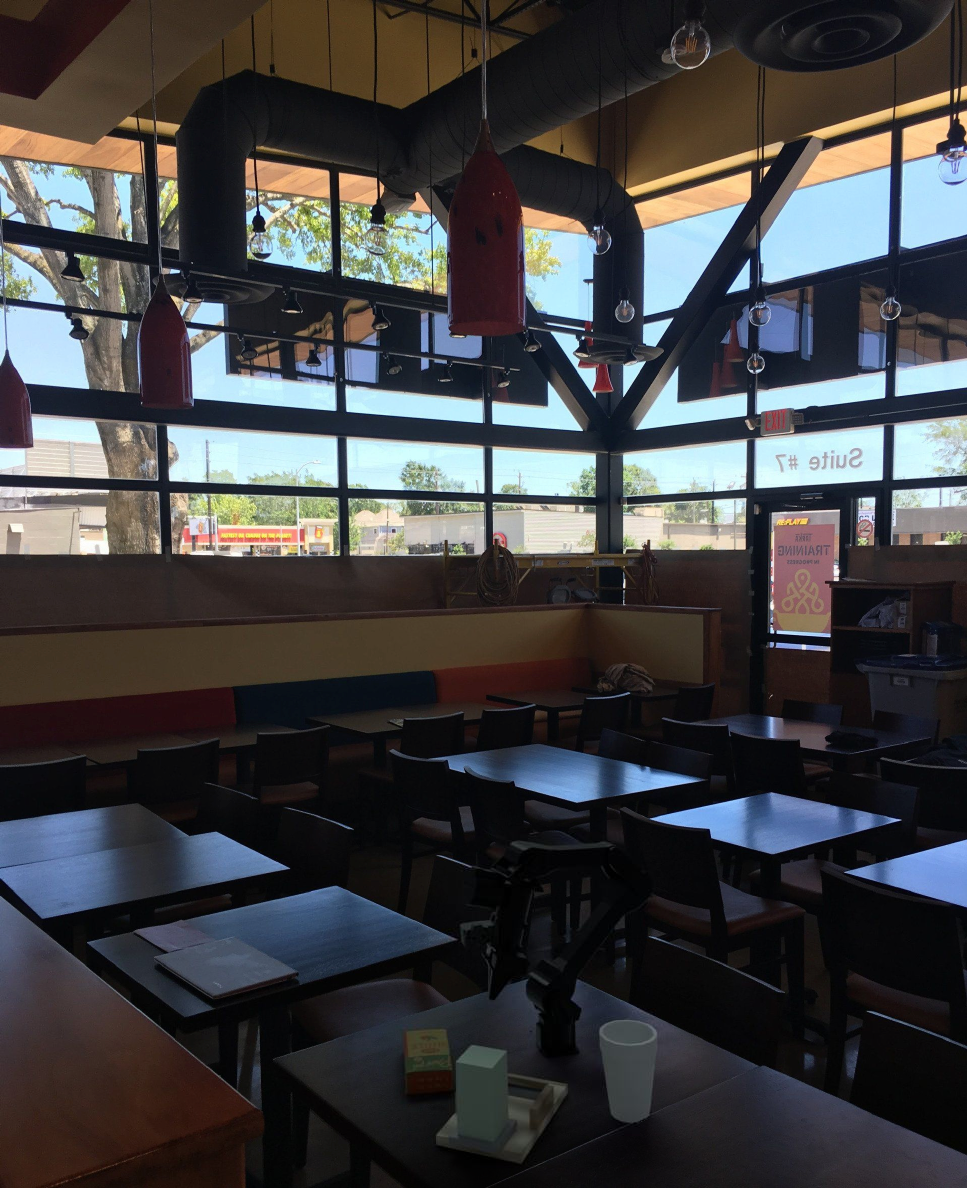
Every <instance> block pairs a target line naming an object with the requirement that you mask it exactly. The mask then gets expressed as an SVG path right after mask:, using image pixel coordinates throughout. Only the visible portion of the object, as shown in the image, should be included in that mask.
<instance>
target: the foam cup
mask: <svg viewBox="0 0 967 1188" xmlns="http://www.w3.org/2000/svg"><path fill="white" fill-rule="evenodd" d="M598 1031H599V1049H600V1051H601V1057H602V1058H601V1059H602V1065H603V1070H604V1071H603V1072H604V1076H605V1077H604V1078H605V1083H606V1084H605V1086H606V1090H607V1098H608V1103H609V1104H608V1105H609V1110H610V1115H611V1116H612V1117H613V1118H614V1120H615V1119H616V1121H617V1120H618V1121H619V1122H621V1123H622V1122H623V1123H629V1124H633V1123H634V1122H636V1123H638V1122H637V1121H640V1120H642V1119H644V1118H647V1117H648V1116H650V1112H651V1107H652V1106H651V1103H652V1097H653V1095H652V1094H653V1088H654V1087H653V1086H654V1076H655V1066H656V1057H657V1052H658V1048H659V1047H658V1033H657V1029H656V1028H654V1027H653V1026H652V1025H651V1024H649V1023H645V1022H643V1021H641V1020H631V1019H618V1020H617V1019H616V1020H612V1021H609V1022H606V1023H604V1024H603V1025H602V1026H601V1027H600V1028H599V1029H598ZM648 1118H649V1117H648ZM648 1118H647V1119H648ZM634 1124H635V1123H634Z"/></svg>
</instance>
